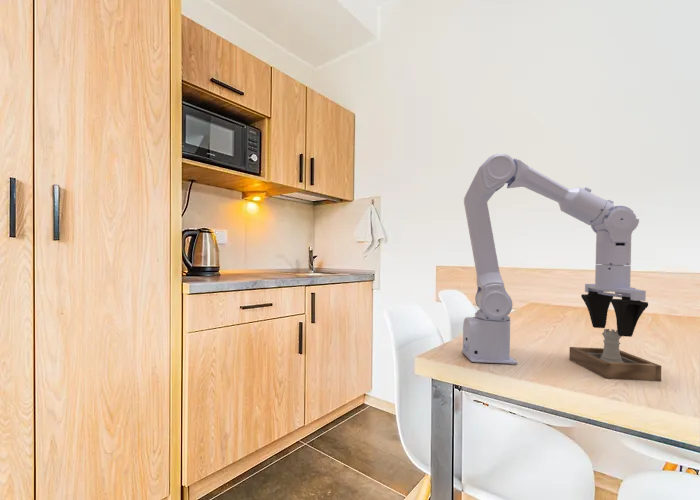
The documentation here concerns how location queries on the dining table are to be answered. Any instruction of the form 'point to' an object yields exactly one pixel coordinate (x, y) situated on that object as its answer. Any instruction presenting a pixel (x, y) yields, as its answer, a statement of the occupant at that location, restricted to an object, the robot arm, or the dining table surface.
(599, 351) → the box
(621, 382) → the dining table surface
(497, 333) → the robot arm
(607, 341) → the rook chess piece
